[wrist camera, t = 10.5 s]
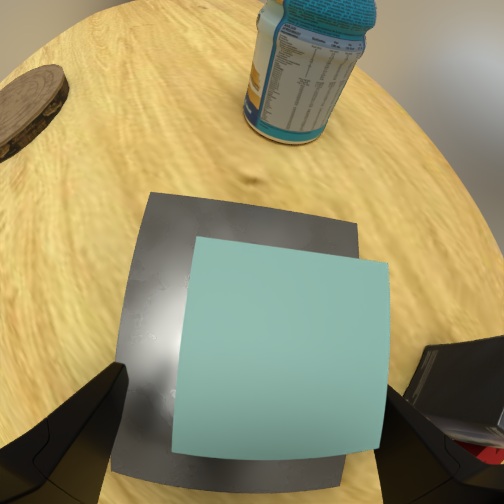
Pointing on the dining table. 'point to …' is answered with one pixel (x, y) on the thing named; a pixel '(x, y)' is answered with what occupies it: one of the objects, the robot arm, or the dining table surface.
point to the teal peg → (281, 354)
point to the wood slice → (30, 107)
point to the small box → (463, 390)
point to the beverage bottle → (303, 64)
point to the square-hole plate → (170, 330)
